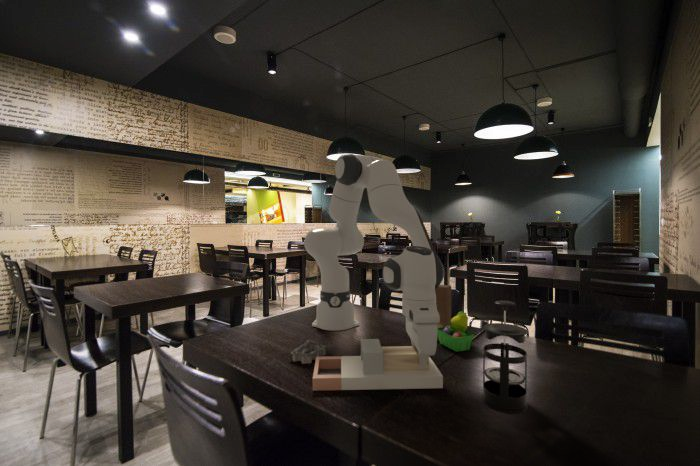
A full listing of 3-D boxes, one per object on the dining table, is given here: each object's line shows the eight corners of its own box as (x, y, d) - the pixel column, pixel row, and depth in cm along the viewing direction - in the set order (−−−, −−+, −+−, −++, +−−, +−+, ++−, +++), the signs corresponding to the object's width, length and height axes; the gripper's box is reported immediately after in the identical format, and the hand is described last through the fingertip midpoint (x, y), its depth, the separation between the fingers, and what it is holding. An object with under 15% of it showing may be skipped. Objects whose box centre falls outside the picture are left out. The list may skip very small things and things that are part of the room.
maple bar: (372, 361, 95) (372, 346, 95) (423, 360, 95) (423, 345, 95) (374, 370, 89) (374, 355, 89) (429, 369, 89) (429, 354, 89)
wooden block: (441, 341, 120) (441, 289, 120) (429, 338, 123) (429, 287, 122) (451, 334, 127) (451, 285, 127) (439, 332, 130) (440, 284, 129)
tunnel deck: (316, 367, 99) (316, 337, 98) (428, 365, 100) (428, 336, 99) (312, 390, 85) (312, 356, 84) (442, 388, 86) (442, 354, 85)
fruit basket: (434, 342, 119) (434, 309, 118) (455, 339, 122) (455, 307, 122) (455, 354, 108) (455, 318, 108) (478, 350, 111) (478, 315, 111)
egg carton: (311, 350, 113) (311, 337, 113) (329, 355, 109) (329, 342, 109) (287, 360, 104) (287, 346, 104) (306, 366, 100) (306, 352, 100)
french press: (528, 419, 72) (529, 308, 71) (480, 409, 76) (480, 304, 75) (526, 394, 82) (526, 297, 82) (483, 386, 86) (484, 294, 86)
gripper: (400, 299, 102) (400, 346, 103) (415, 318, 82) (415, 376, 82) (421, 299, 102) (421, 346, 103) (441, 318, 82) (441, 376, 82)
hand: (419, 359), depth 92 cm, fingers closed on maple bar, 6 cm apart
